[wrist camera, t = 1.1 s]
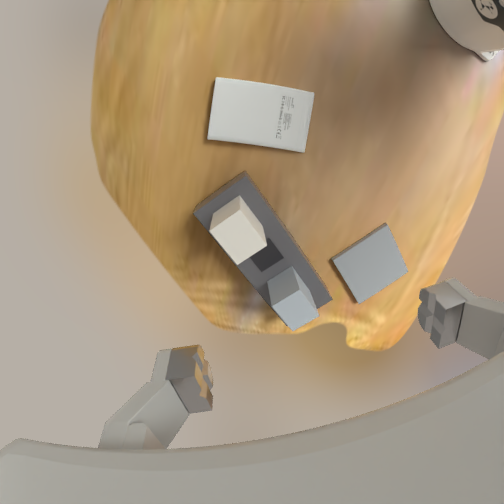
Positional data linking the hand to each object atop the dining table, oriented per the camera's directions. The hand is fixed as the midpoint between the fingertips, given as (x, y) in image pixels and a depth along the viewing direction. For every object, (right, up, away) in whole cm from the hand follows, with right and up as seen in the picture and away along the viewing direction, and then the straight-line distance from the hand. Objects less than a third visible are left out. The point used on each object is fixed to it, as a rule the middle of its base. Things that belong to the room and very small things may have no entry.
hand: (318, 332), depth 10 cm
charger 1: (-4, +8, +30) cm, 31 cm away
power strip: (0, +3, +34) cm, 34 cm away
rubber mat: (+17, +1, +36) cm, 40 cm away
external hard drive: (-1, +20, +27) cm, 34 cm away
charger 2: (+3, -2, +33) cm, 33 cm away
